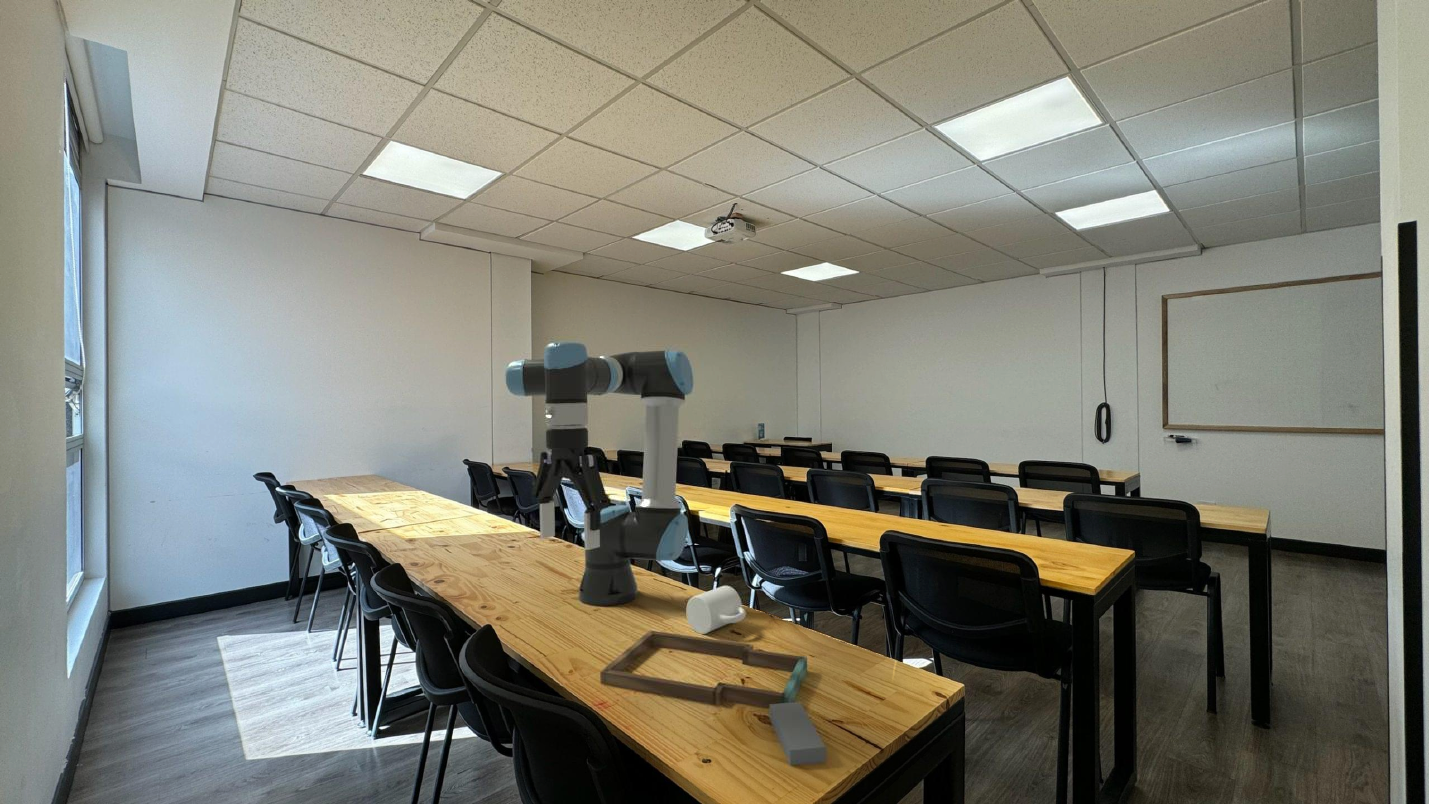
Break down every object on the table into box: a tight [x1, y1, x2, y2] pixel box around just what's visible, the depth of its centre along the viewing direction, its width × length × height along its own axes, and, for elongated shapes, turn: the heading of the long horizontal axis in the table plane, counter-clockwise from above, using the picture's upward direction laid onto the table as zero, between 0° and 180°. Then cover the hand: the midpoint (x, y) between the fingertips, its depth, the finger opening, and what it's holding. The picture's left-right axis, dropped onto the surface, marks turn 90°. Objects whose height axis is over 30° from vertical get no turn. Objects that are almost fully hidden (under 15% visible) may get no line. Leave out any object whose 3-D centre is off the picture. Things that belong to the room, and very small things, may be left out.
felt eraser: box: [768, 701, 827, 766], centre depth 84 cm, size 12×5×3 cm, turn 8°
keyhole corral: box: [599, 630, 808, 709], centre depth 105 cm, size 19×33×2 cm, turn 70°
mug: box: [685, 585, 747, 635], centre depth 127 cm, size 12×10×8 cm
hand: (569, 542), depth 106 cm, fingers open, 13 cm apart
